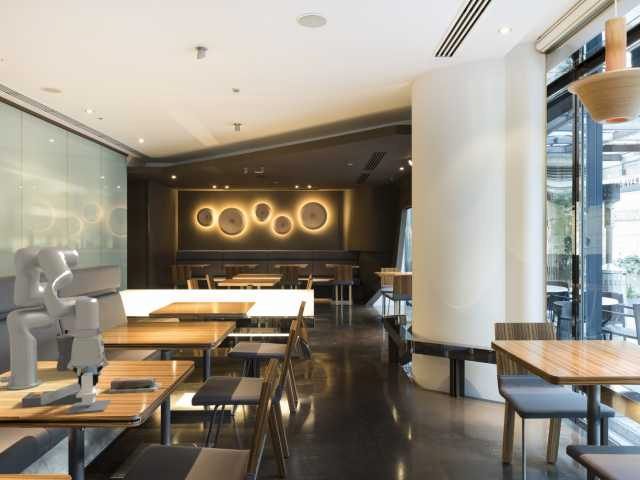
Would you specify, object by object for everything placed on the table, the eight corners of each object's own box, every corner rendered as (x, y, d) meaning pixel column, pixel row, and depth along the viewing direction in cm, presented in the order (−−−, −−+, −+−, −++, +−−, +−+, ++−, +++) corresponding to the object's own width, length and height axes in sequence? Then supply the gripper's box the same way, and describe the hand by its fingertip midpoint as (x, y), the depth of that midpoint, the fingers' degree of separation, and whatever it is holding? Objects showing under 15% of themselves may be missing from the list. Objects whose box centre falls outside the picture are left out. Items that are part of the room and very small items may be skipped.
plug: (76, 405, 172) (75, 377, 172) (81, 400, 178) (80, 372, 178) (96, 404, 173) (95, 375, 173) (100, 398, 179) (100, 371, 180)
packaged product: (107, 382, 192) (116, 375, 202) (107, 394, 192) (116, 387, 202) (154, 380, 193) (161, 373, 203) (155, 393, 193) (162, 385, 203)
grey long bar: (44, 404, 166) (44, 395, 166) (40, 404, 167) (39, 395, 167) (84, 389, 184) (84, 381, 184) (79, 389, 184) (79, 380, 184)
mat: (65, 414, 169) (65, 412, 169) (75, 404, 180) (75, 402, 180) (103, 411, 172) (103, 409, 172) (110, 401, 182) (110, 399, 182)
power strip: (21, 407, 178) (21, 397, 178) (30, 400, 186) (30, 390, 186) (85, 402, 182) (84, 392, 182) (90, 395, 190) (90, 386, 190)
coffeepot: (84, 367, 235) (83, 329, 235) (64, 372, 227) (63, 332, 227) (67, 363, 244) (66, 326, 244) (47, 368, 236) (46, 329, 236)
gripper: (114, 330, 181) (115, 380, 181) (65, 332, 178) (66, 384, 178) (110, 333, 174) (111, 386, 174) (58, 336, 171) (59, 390, 171)
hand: (88, 384), depth 176 cm, fingers closed on plug, 3 cm apart
